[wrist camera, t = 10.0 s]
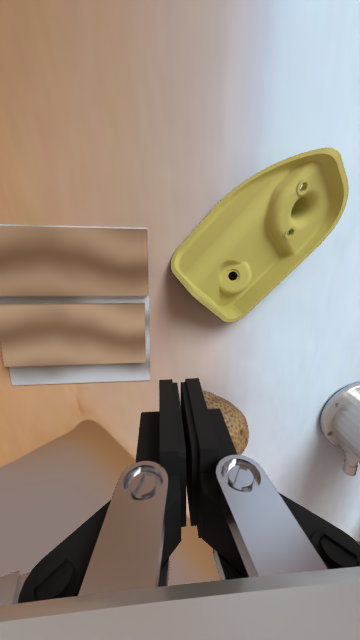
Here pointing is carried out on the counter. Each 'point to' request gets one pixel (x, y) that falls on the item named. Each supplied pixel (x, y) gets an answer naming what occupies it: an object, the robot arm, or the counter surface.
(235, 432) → the natural sponge
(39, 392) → the counter surface
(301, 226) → the plastic component
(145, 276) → the laid floor
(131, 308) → the plank
